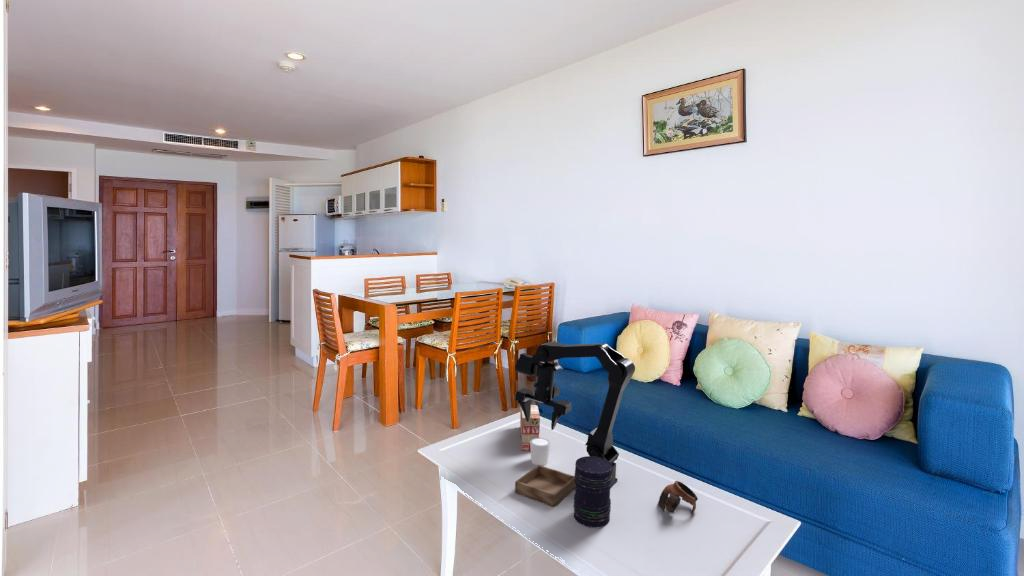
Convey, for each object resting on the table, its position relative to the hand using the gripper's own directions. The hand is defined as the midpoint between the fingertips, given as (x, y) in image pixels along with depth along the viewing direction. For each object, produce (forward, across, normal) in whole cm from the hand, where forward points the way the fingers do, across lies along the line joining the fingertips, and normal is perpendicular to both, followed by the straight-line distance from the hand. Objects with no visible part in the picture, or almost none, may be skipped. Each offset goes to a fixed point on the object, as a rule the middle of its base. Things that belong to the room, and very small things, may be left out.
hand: (540, 425), depth 164 cm
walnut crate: (+12, -11, +16) cm, 23 cm away
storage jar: (+10, -28, +22) cm, 37 cm away
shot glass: (+13, -1, 0) cm, 13 cm away
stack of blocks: (+14, +11, -15) cm, 23 cm away
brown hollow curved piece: (+9, -46, +5) cm, 48 cm away
